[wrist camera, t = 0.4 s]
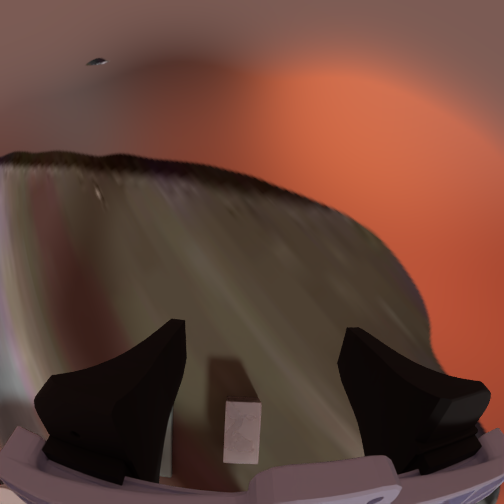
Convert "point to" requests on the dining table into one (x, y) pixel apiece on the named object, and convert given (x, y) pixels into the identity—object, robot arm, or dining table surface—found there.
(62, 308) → the dining table surface
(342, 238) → the dining table surface
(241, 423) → the pale pink block
